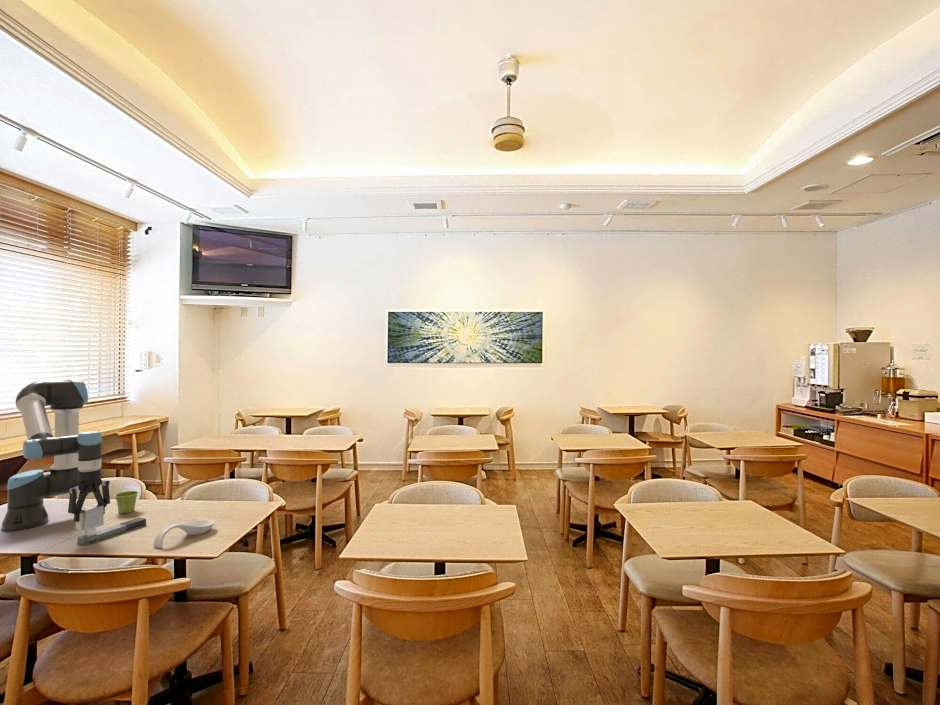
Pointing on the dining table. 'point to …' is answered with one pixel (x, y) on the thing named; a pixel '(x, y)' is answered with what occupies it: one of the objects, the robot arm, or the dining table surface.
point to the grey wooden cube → (92, 516)
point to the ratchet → (110, 531)
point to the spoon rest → (184, 529)
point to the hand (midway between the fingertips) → (89, 525)
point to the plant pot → (126, 501)
